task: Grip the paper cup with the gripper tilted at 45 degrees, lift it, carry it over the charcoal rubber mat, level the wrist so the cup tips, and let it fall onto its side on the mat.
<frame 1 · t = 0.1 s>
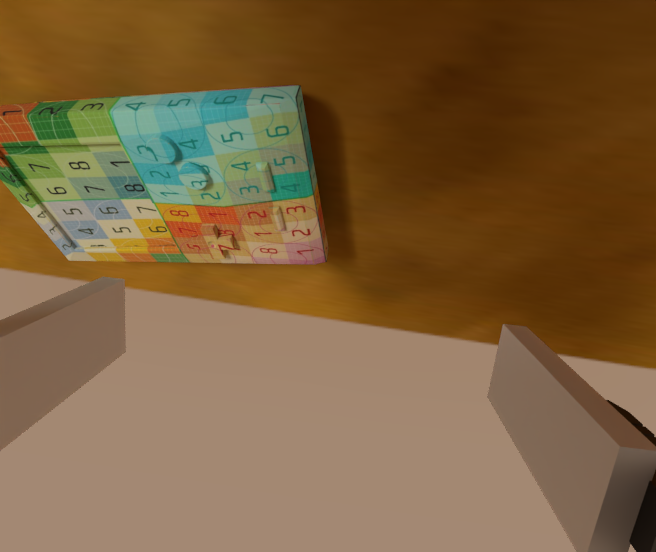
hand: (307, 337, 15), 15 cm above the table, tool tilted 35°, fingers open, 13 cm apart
puzzle game: (178, 160, 29), on the table
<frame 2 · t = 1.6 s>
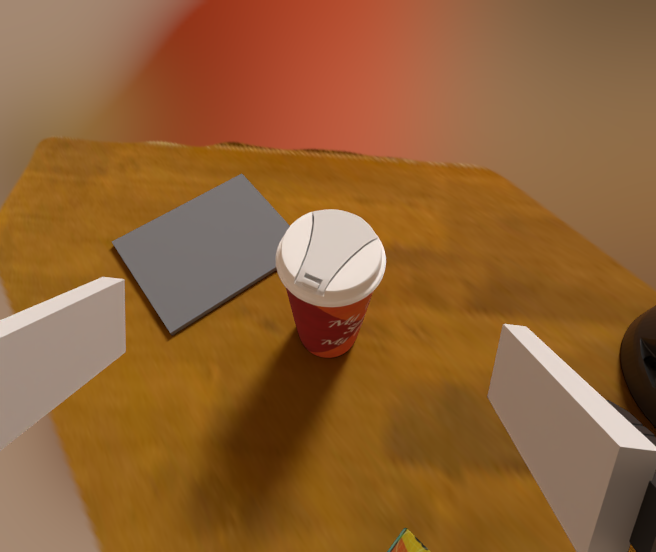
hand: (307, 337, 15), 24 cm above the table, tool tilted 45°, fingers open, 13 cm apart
mat: (211, 247, 45), on the table
paper cup: (328, 330, 41), on the table
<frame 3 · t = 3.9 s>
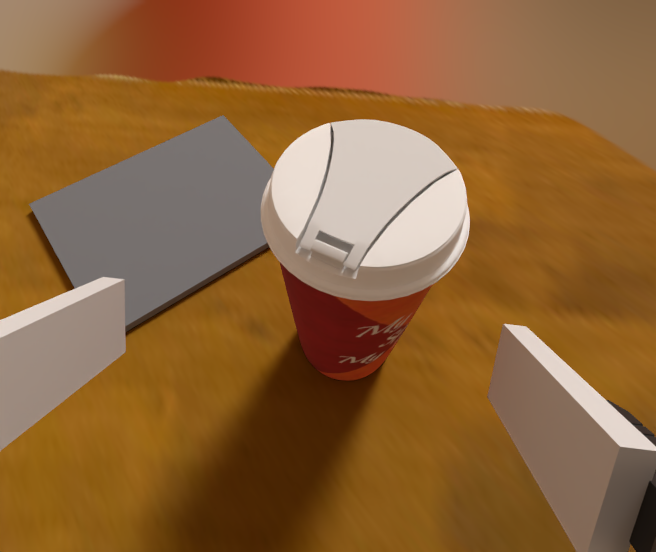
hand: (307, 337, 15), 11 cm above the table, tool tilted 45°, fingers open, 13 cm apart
mat: (175, 214, 31), on the table
paper cup: (345, 337, 27), on the table
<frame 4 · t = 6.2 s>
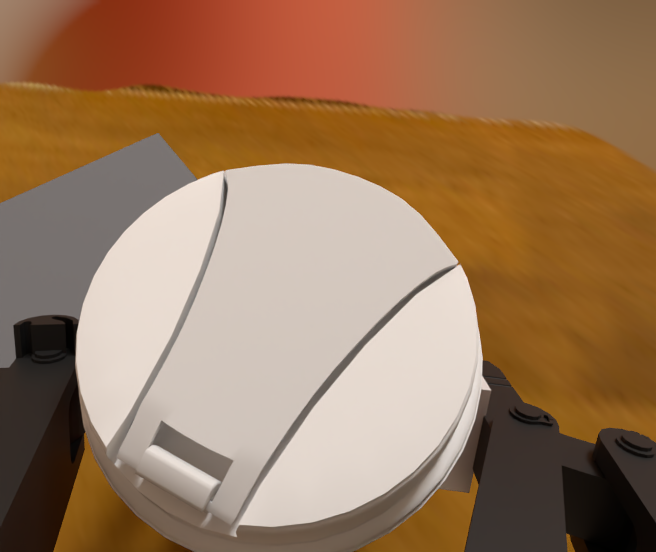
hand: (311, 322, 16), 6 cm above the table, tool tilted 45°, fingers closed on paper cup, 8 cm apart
mat: (83, 265, 24), on the table
paper cup: (302, 444, 20), on the table, touching gripper
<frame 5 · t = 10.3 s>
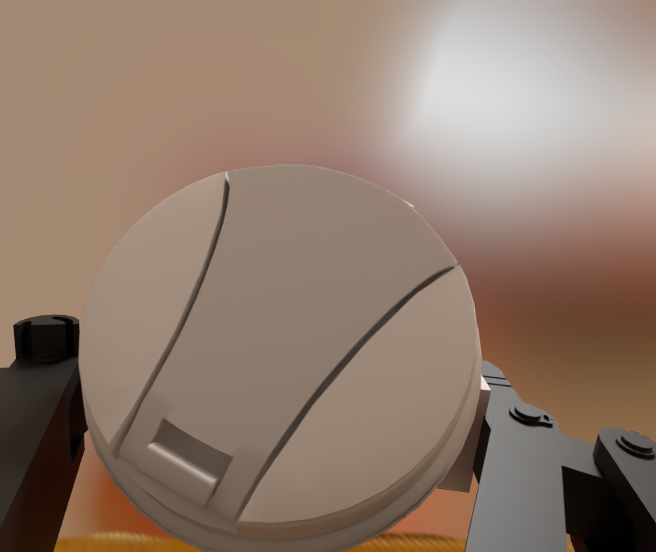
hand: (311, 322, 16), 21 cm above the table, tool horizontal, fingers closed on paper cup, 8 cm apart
paper cup: (303, 443, 20), point 15 cm above the table, touching gripper
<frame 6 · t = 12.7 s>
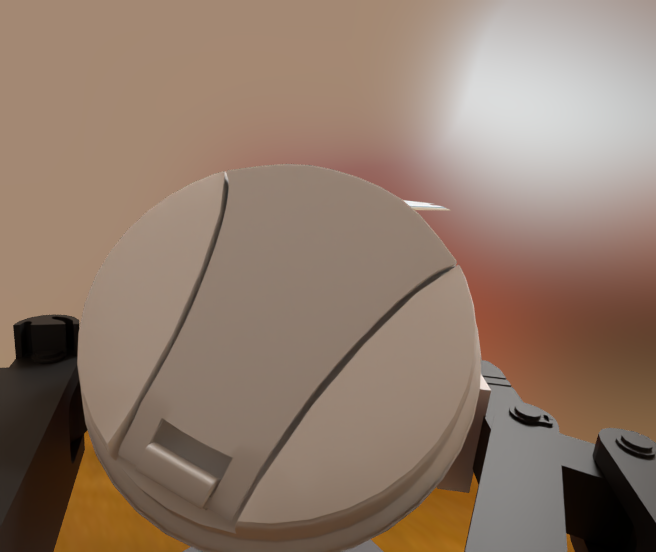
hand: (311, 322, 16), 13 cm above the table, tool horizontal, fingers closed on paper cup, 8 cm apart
paper cup: (303, 443, 20), point 6 cm above the table, touching gripper
when the fingers open (12 cm above the table, at t = 13.4 s): paper cup drops 2 cm, resting on mat.
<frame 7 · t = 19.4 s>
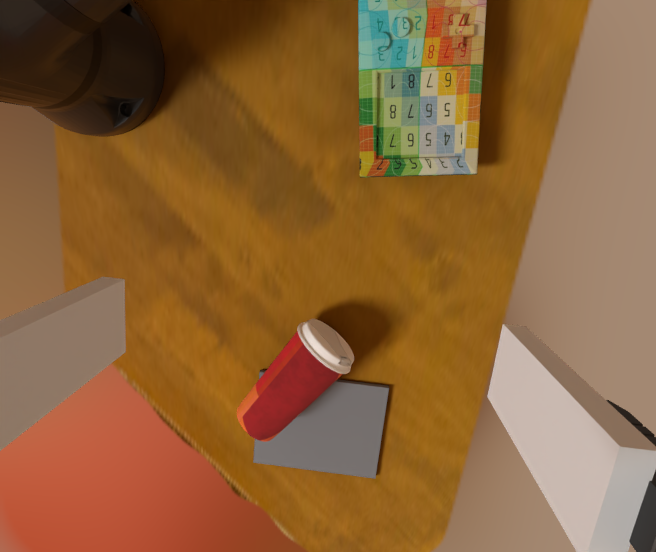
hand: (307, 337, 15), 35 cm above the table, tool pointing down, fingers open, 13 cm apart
mat: (319, 423, 55), on the table
puzzle game: (414, 77, 45), on the table
paper cup: (254, 422, 51), point 4 cm above the table, touching mat
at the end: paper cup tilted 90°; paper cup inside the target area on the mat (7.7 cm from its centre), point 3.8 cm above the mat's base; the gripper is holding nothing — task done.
